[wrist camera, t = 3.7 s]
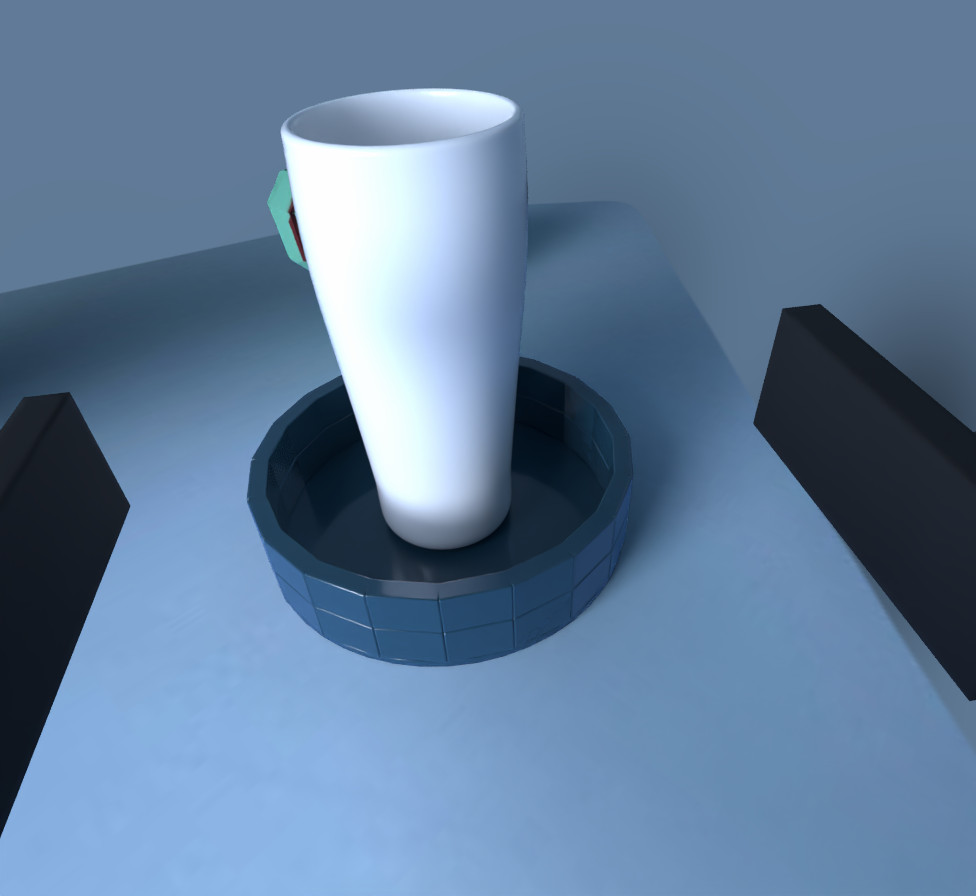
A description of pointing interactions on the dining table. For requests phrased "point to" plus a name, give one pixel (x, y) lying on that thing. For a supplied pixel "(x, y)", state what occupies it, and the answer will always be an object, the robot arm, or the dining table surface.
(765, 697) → the dining table surface
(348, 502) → the round dark tray
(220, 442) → the dining table surface
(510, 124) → the drinking glass
